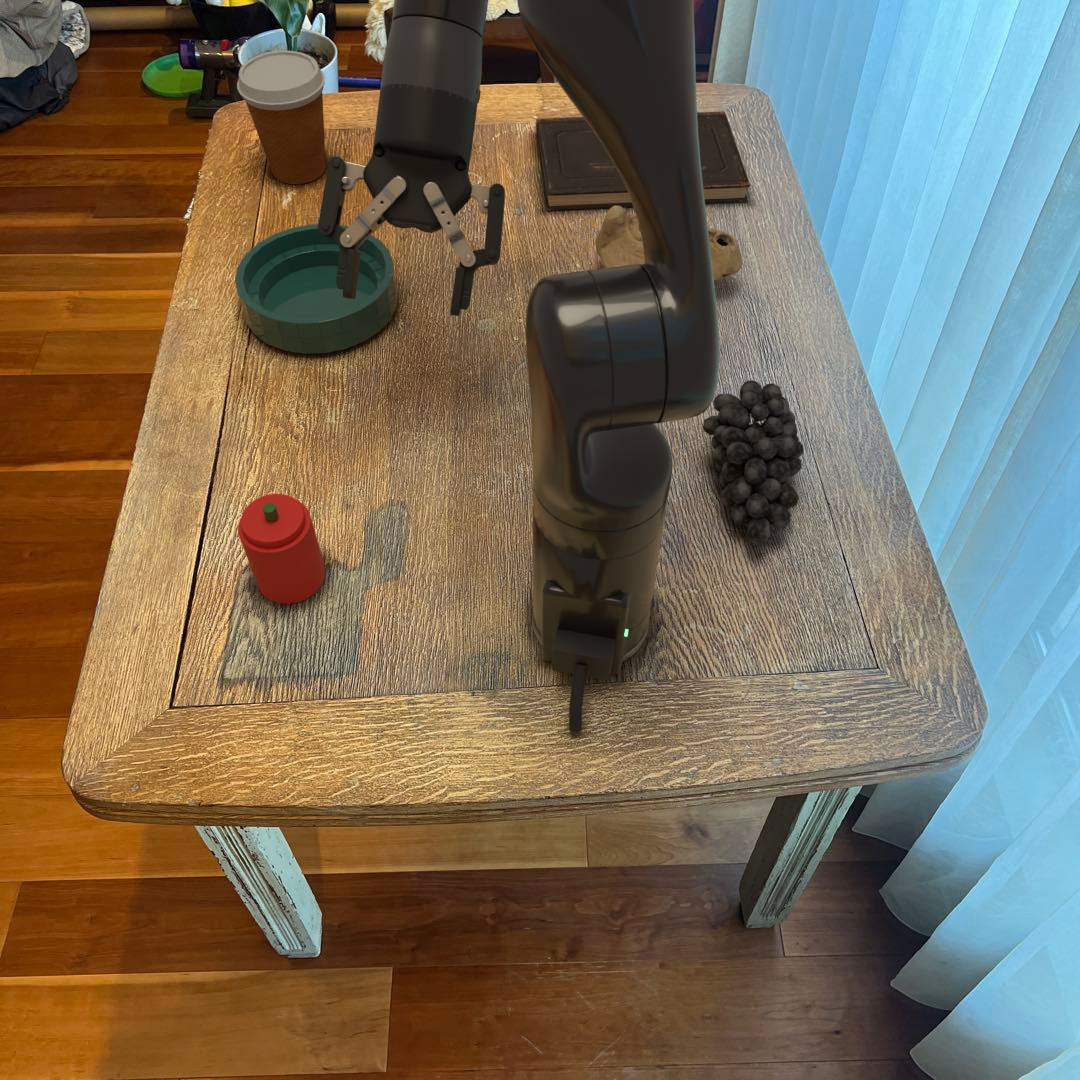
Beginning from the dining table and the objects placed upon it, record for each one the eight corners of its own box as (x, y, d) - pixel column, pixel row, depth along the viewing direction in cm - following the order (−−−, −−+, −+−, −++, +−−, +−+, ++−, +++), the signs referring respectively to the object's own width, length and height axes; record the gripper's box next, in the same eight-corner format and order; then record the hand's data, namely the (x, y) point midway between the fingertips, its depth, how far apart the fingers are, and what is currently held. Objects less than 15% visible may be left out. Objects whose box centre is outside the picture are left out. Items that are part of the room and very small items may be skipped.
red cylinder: (312, 609, 83) (290, 542, 75) (246, 597, 83) (219, 529, 76) (334, 555, 86) (316, 485, 79) (272, 544, 87) (248, 474, 79)
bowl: (371, 368, 100) (365, 333, 96) (221, 345, 102) (210, 310, 98) (416, 270, 109) (412, 234, 105) (278, 250, 111) (269, 215, 107)
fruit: (801, 494, 78) (792, 357, 87) (694, 508, 81) (696, 373, 89) (814, 559, 85) (805, 425, 93) (715, 569, 87) (714, 438, 96)
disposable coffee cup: (327, 196, 117) (308, 96, 108) (247, 188, 118) (221, 89, 108) (349, 150, 123) (333, 51, 113) (273, 143, 124) (251, 45, 114)
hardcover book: (747, 202, 117) (750, 184, 115) (546, 211, 115) (546, 193, 114) (721, 126, 126) (724, 108, 124) (536, 133, 125) (536, 116, 123)
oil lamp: (742, 311, 105) (756, 247, 99) (597, 313, 105) (601, 248, 98) (728, 246, 112) (740, 181, 105) (591, 247, 111) (595, 182, 105)
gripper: (328, 65, 75) (303, 290, 78) (521, 98, 75) (489, 320, 78) (345, 90, 82) (322, 295, 85) (520, 120, 83) (491, 322, 86)
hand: (402, 307), depth 82 cm, fingers open, 8 cm apart
